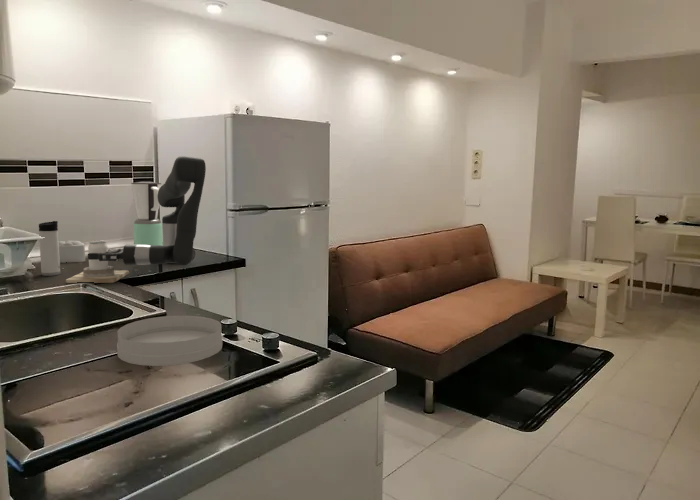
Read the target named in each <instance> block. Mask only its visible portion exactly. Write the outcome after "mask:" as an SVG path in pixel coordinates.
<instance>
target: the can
mask: <svg viewBox="0 0 700 500" xmlns="http://www.w3.org/2000/svg"><path fill="white" fill-rule="evenodd" d="M87 248H88V249H87V251H88V252H87V255H88V254H89V253H105V252H106V251H108V250H109V247H108V245H107V241H101V240H99V241H98V240H97V241H90V242H89V244H88V246H87ZM103 258H105V255H103ZM109 266H110V265H109V261H99V260H89V259H88V267H89V270H104V269H109Z"/></svg>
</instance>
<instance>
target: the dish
mask: <svg viewBox="0 0 700 500" xmlns="http://www.w3.org/2000/svg"><path fill="white" fill-rule="evenodd" d="M116 333H117V343H116V349H117V357H118V358H119V359H120V360H121V361H123V362H125V363H129V364H133V365H139V366H148V367H149V366H150V367H158V366H159V367H161V366H162V367H163V366H175V365H176V366H177V365H184V364H189V363H194V362H198V361H201V360H204V359H208V358H210V357H212V356H214V355H216V354H218V353H219V352H221V350H222V349H223V335H222V323H221V322H220V321H218V320H216V319H214V318H210V317H205V316H200V315H199V316H198V315H167V316H166V315H165V316H157V317H156V316H155V317H149V318H144V319H141V320H140V319H139V320H135V321H133V322H130V323H126V324H125V325H123V326H121V327H120V328H119V329H118V330H117V332H116Z"/></svg>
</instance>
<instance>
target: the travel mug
mask: <svg viewBox="0 0 700 500" xmlns="http://www.w3.org/2000/svg"><path fill="white" fill-rule="evenodd" d="M58 223H59V222H58V220H53V221H47V222H46V221H45V222H41V223H39V224H38V237H39V236H41V237H45V238H43V239H39V238H38V239H39V241H38V242H39V257H40V270H41V272H40V273H41V276H45V277H50V276H52V277H54V276H59V275H60V274H61V263H60V257H59V229H58V228H59V227H58V225H59V224H58Z"/></svg>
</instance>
